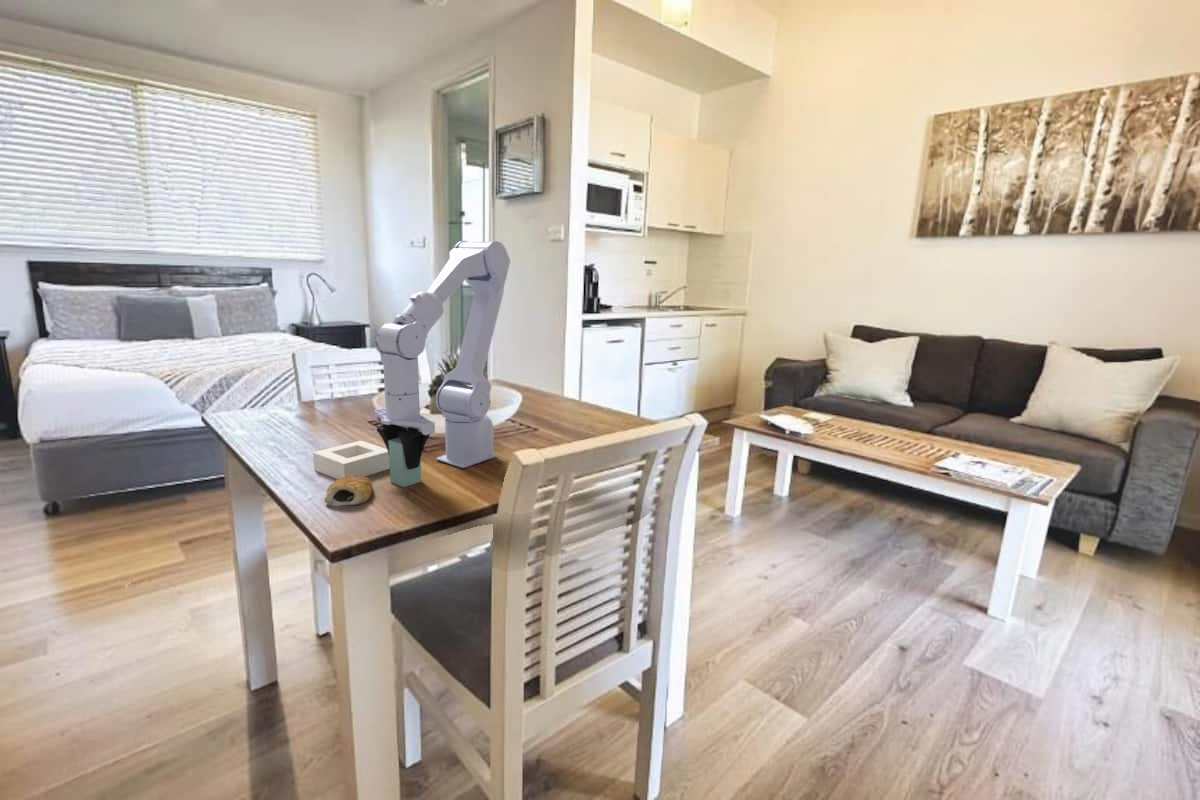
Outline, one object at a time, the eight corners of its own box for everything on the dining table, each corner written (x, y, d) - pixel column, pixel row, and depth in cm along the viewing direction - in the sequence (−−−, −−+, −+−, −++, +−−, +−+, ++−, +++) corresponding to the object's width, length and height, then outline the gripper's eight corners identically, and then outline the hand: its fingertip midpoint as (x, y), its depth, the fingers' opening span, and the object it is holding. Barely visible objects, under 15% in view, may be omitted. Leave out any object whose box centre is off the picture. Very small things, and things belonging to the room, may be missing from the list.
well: (361, 456, 116) (360, 440, 115) (392, 467, 111) (391, 450, 110) (314, 470, 108) (312, 452, 107) (345, 482, 103) (343, 464, 102)
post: (407, 476, 106) (406, 435, 105) (421, 481, 104) (419, 439, 103) (390, 482, 103) (388, 440, 102) (403, 487, 101) (402, 444, 100)
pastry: (341, 486, 101) (340, 466, 100) (380, 486, 102) (380, 466, 101) (322, 508, 92) (321, 486, 91) (365, 508, 93) (364, 486, 92)
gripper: (356, 389, 101) (361, 462, 104) (409, 402, 93) (412, 480, 96) (391, 383, 107) (394, 452, 110) (443, 395, 99) (445, 469, 102)
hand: (405, 465), depth 103 cm, fingers closed on post, 4 cm apart
